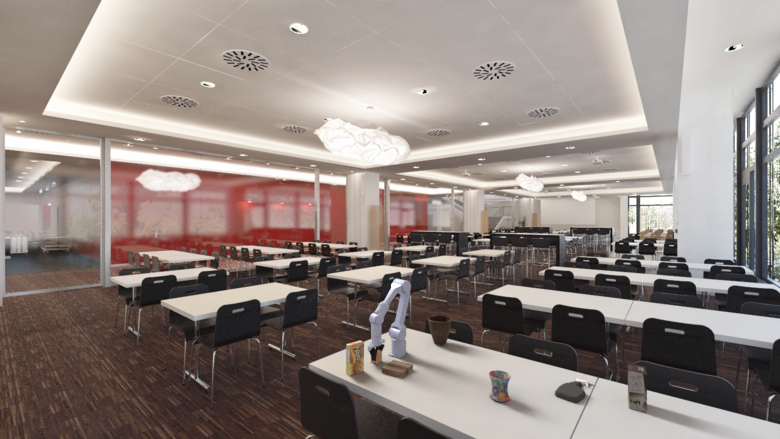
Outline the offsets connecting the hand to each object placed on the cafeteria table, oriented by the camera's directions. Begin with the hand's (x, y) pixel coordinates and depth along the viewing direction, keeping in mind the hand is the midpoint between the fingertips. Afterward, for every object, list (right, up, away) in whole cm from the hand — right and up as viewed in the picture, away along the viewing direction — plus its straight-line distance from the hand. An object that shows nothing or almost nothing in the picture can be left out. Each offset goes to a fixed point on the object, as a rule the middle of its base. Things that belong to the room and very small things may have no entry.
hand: (376, 359), depth 195 cm
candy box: (-11, -2, -14) cm, 17 cm away
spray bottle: (+94, -2, -33) cm, 100 cm away
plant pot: (+40, -2, +28) cm, 49 cm away
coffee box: (+114, -2, -46) cm, 123 cm away
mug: (+57, -2, -39) cm, 69 cm away
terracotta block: (0, -1, 0) cm, 1 cm away
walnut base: (+12, -2, -12) cm, 17 cm away
